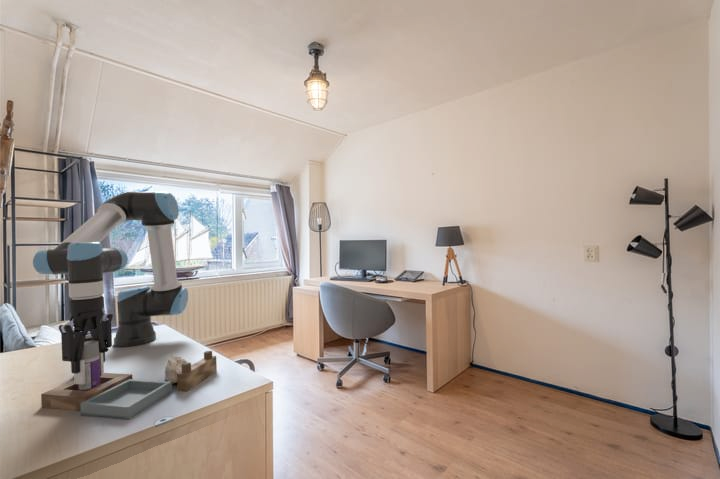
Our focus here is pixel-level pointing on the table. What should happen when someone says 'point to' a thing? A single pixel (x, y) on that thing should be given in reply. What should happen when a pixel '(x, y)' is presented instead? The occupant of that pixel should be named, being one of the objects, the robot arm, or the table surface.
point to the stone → (173, 368)
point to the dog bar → (196, 372)
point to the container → (91, 365)
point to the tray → (126, 399)
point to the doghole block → (79, 392)
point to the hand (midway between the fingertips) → (89, 379)
